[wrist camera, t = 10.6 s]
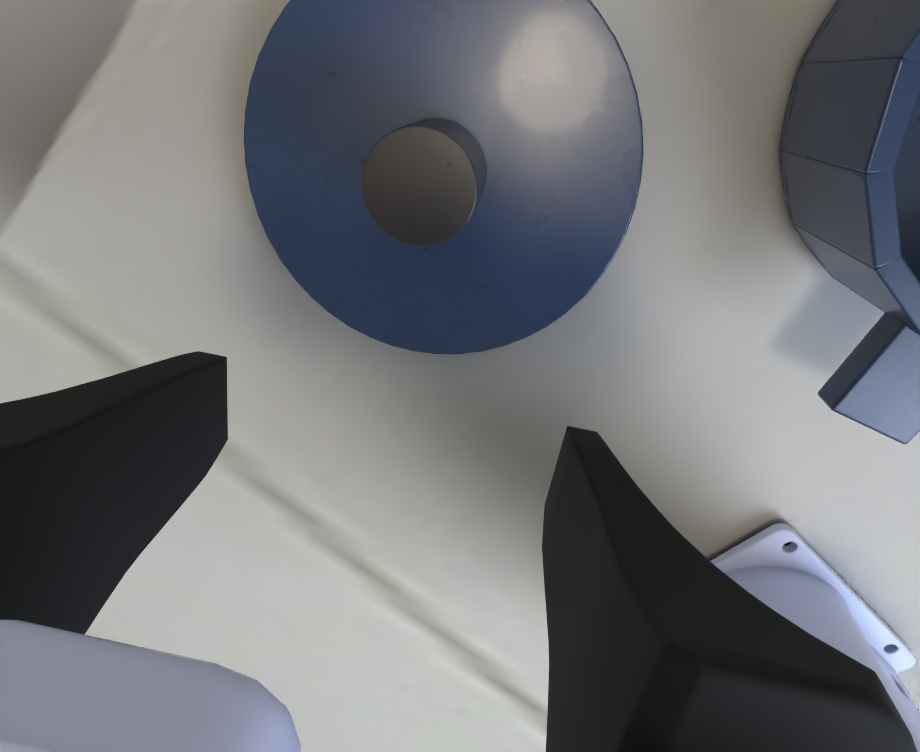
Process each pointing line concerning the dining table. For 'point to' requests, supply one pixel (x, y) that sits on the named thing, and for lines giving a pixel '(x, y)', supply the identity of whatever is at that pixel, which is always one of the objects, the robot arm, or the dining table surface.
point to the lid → (444, 162)
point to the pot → (864, 195)
